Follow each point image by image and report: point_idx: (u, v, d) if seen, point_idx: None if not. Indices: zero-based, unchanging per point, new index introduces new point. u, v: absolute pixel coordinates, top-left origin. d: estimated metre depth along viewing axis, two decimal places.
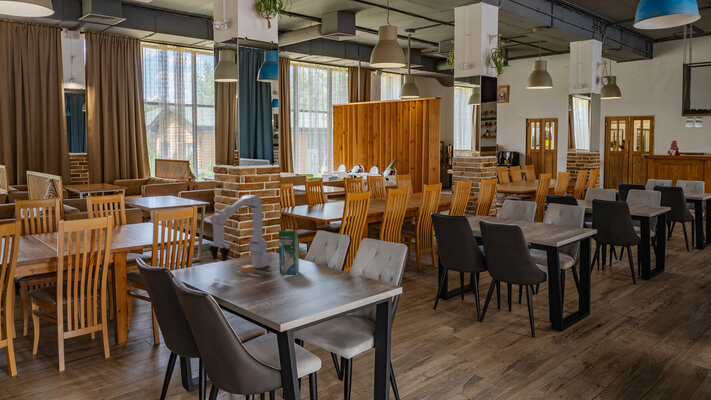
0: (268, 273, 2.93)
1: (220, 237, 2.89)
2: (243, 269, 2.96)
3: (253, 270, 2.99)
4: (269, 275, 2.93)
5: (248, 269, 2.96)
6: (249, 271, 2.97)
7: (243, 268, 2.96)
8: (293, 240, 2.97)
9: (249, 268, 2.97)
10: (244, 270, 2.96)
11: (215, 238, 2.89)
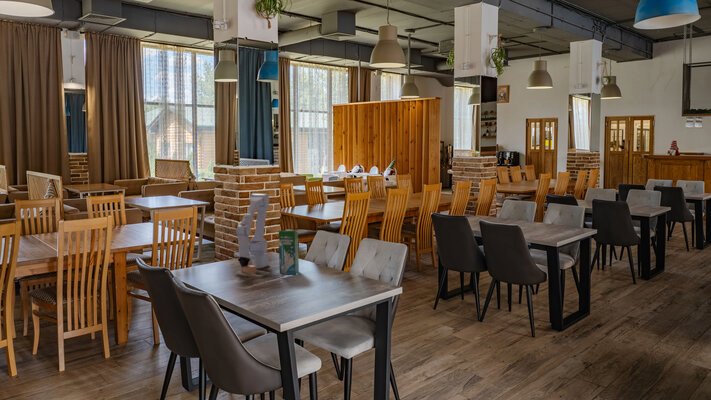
0: (268, 273, 2.93)
1: (245, 248, 2.97)
2: (245, 269, 2.96)
3: (255, 270, 2.98)
4: (269, 275, 2.93)
5: (250, 269, 2.95)
6: (251, 271, 2.96)
7: (245, 268, 2.96)
8: (293, 240, 2.97)
9: (251, 268, 2.96)
10: (246, 270, 2.95)
11: (240, 249, 2.97)
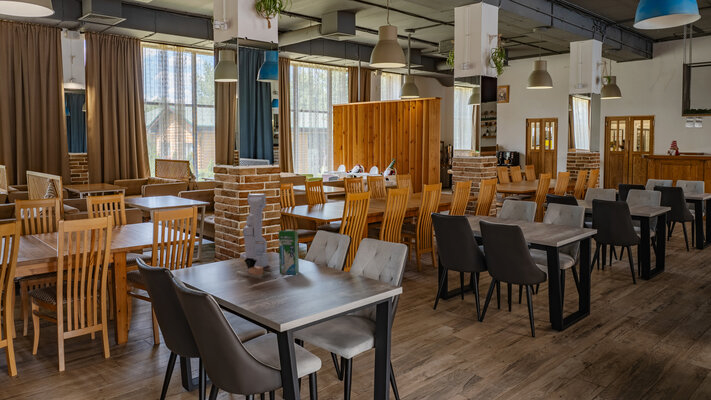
0: (268, 273, 2.93)
1: (252, 249, 2.94)
2: (251, 271, 2.93)
3: (261, 272, 2.95)
4: (269, 275, 2.93)
5: (256, 271, 2.92)
6: (257, 273, 2.93)
7: (251, 270, 2.92)
8: (293, 240, 2.97)
9: (257, 270, 2.93)
10: (252, 272, 2.92)
11: (247, 250, 2.94)
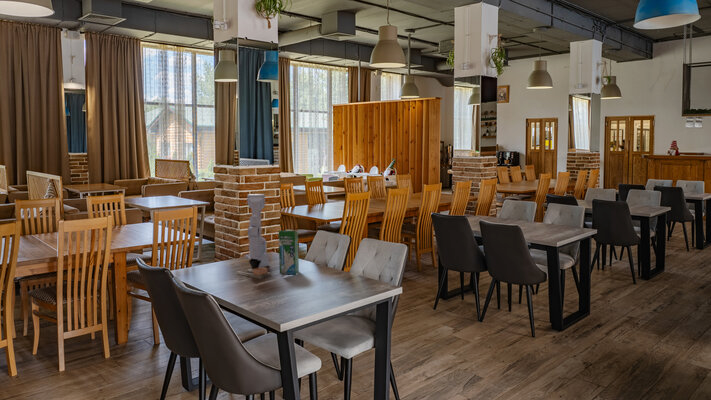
0: (268, 273, 2.93)
1: (256, 250, 2.92)
2: (256, 271, 2.91)
3: (266, 272, 2.93)
4: (269, 275, 2.93)
5: (261, 271, 2.90)
6: (262, 273, 2.91)
7: (256, 270, 2.90)
8: (293, 240, 2.97)
9: (262, 270, 2.91)
10: (257, 272, 2.90)
11: (251, 251, 2.92)
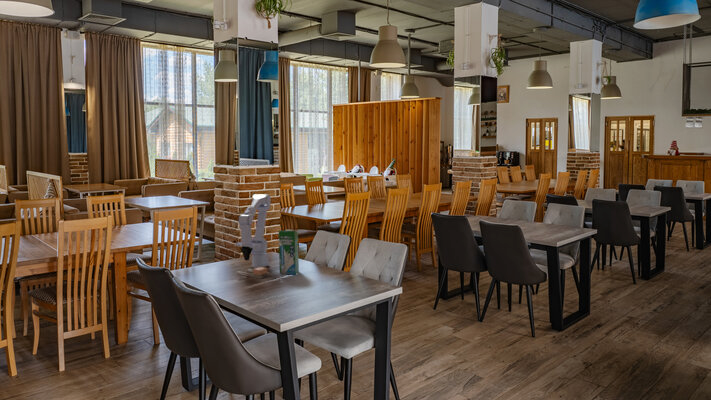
0: (268, 273, 2.93)
1: (247, 237, 2.96)
2: (256, 271, 2.91)
3: (266, 272, 2.93)
4: (269, 275, 2.93)
5: (261, 271, 2.90)
6: (262, 273, 2.91)
7: (256, 270, 2.90)
8: (293, 240, 2.97)
9: (262, 270, 2.91)
10: (257, 272, 2.90)
11: (243, 238, 2.95)
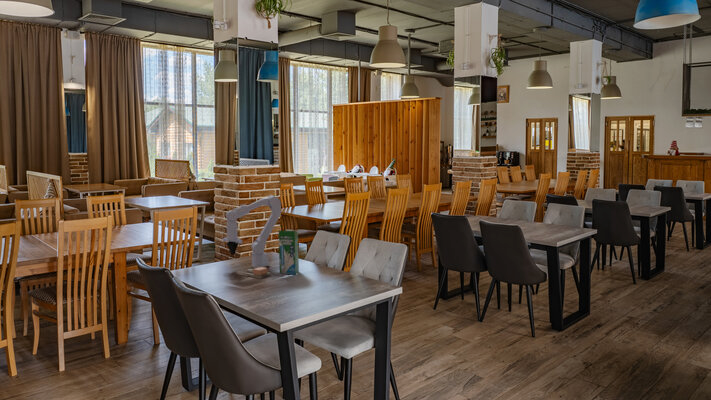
0: (268, 273, 2.93)
1: (233, 233, 3.06)
2: (256, 271, 2.91)
3: (266, 272, 2.93)
4: (269, 275, 2.93)
5: (261, 271, 2.90)
6: (262, 273, 2.91)
7: (256, 270, 2.90)
8: (293, 240, 2.97)
9: (262, 270, 2.91)
10: (257, 272, 2.90)
11: (229, 234, 3.06)
